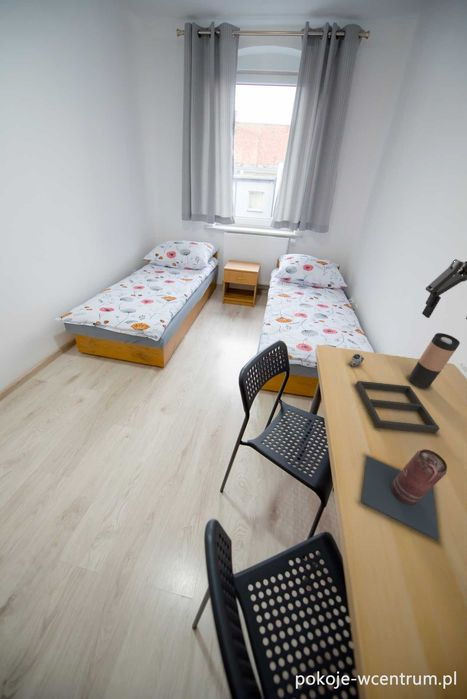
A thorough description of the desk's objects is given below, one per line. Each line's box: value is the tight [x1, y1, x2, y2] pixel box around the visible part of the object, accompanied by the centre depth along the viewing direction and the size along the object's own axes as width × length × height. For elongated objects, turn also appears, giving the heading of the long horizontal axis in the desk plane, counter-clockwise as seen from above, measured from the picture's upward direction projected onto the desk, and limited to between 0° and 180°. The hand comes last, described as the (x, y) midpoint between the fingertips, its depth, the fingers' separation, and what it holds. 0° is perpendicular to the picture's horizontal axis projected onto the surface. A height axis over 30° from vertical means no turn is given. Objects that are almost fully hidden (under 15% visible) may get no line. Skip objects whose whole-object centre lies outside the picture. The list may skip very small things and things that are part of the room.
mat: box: [361, 455, 439, 542], centre depth 68 cm, size 16×14×1 cm
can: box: [391, 448, 448, 505], centre depth 63 cm, size 6×6×14 cm
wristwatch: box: [349, 353, 365, 367], centre depth 109 cm, size 4×6×5 cm, turn 118°
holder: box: [355, 380, 441, 435], centre depth 92 cm, size 19×19×2 cm
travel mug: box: [408, 332, 461, 390], centre depth 100 cm, size 8×8×20 cm
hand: (447, 318), depth 82 cm, fingers open, 13 cm apart
